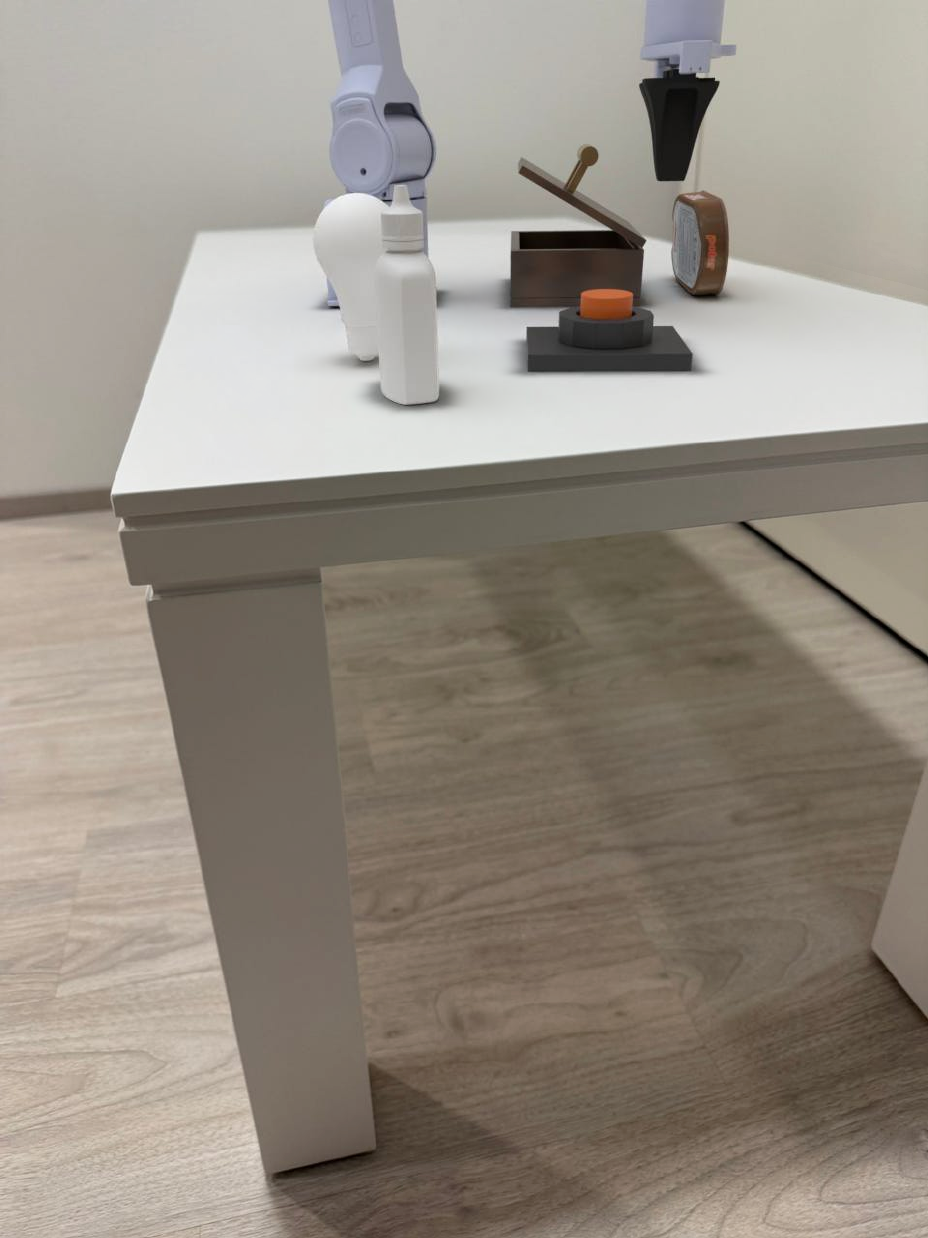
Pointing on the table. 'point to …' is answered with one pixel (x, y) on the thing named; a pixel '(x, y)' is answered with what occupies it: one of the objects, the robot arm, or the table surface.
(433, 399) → the eye dropper bottle
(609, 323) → the switch block
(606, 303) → the button
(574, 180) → the lid
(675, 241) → the tin
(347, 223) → the lightbulb
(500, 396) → the table surface
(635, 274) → the box
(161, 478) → the table surface
